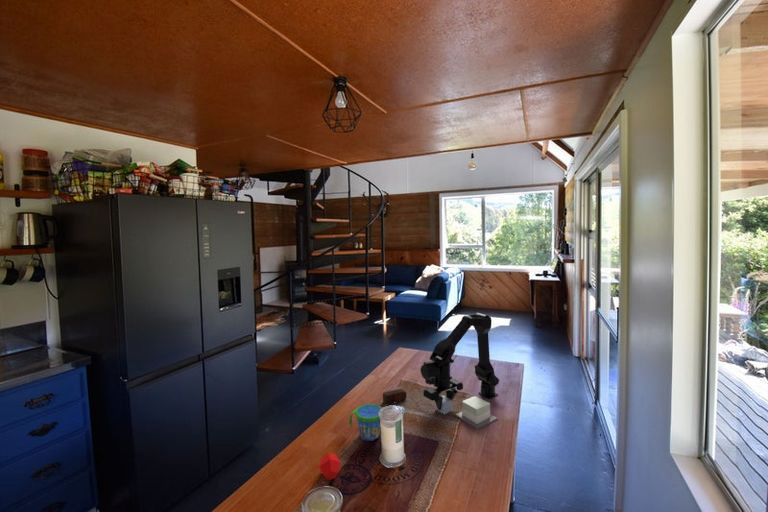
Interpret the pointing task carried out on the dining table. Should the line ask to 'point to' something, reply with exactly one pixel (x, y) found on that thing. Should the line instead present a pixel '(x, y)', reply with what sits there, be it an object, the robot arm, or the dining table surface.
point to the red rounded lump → (329, 466)
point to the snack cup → (367, 421)
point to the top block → (445, 405)
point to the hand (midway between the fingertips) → (443, 408)
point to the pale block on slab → (476, 412)
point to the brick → (394, 396)
